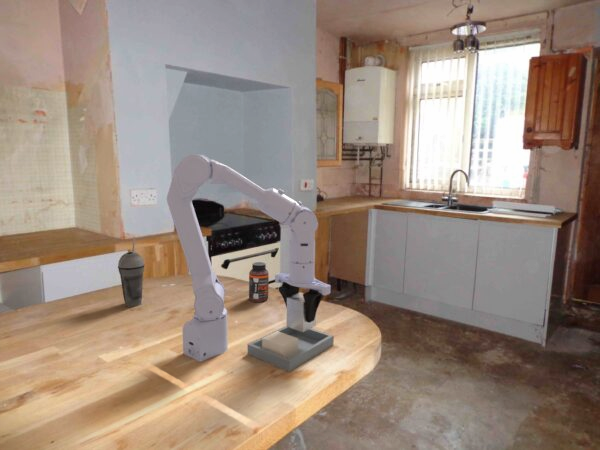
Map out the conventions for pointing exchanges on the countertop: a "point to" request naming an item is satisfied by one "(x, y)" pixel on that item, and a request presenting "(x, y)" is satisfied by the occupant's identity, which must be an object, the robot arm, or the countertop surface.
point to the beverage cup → (131, 277)
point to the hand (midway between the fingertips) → (301, 318)
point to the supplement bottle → (258, 282)
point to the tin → (298, 313)
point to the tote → (308, 347)
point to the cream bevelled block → (281, 344)
